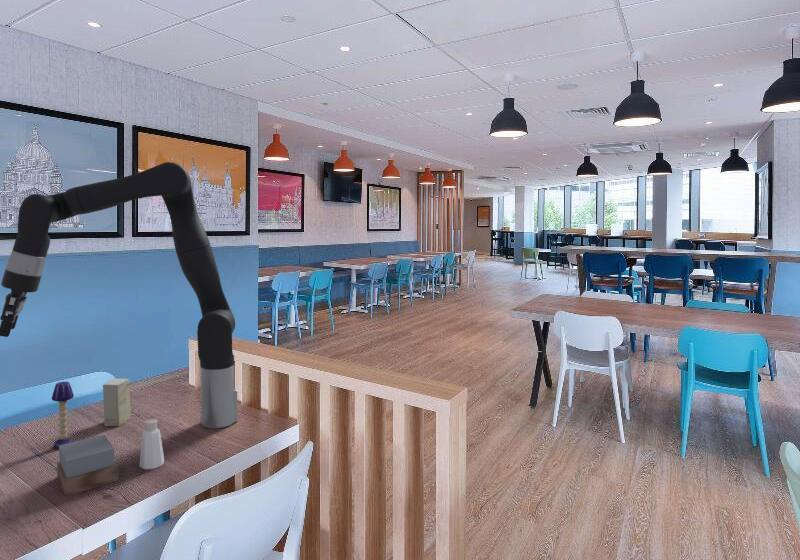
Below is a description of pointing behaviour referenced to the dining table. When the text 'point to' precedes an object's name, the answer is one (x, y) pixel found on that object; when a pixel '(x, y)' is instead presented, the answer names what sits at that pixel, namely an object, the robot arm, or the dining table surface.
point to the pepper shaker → (151, 446)
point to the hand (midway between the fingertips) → (6, 332)
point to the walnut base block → (86, 479)
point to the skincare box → (116, 402)
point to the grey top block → (86, 456)
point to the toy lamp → (62, 410)
